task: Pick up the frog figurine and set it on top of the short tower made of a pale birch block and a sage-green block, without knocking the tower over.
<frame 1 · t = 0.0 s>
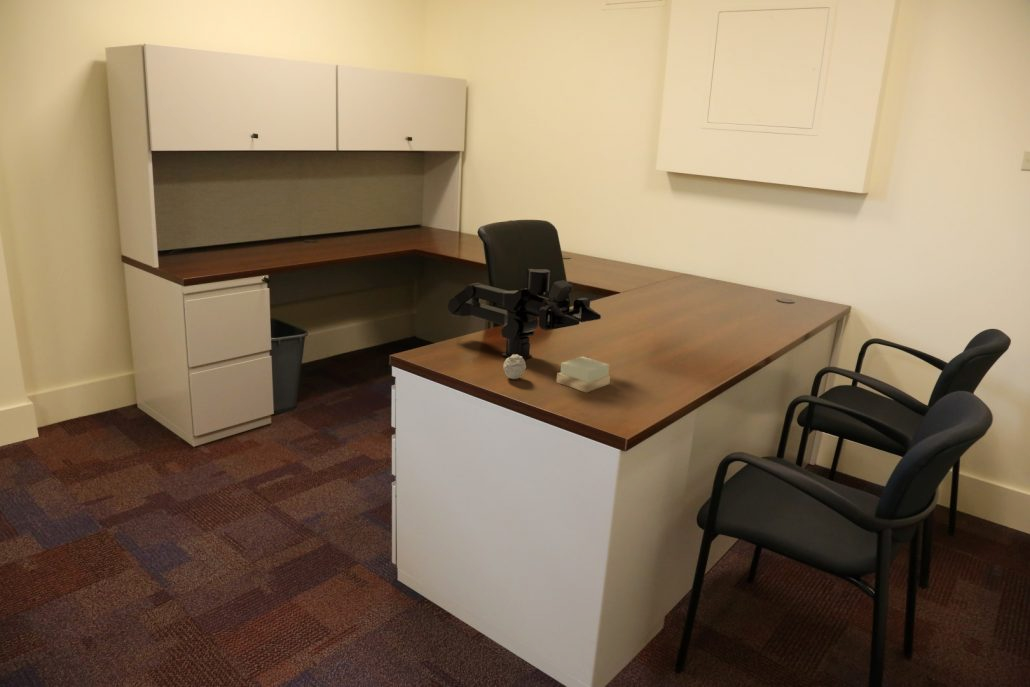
hand: (589, 319, 190), 17 cm above the table, tool horizontal, fingers open, 9 cm apart
lower block: (582, 384, 191), on the table, touching upper block
upper block: (584, 374, 190), point 2 cm above the table, touching lower block
frog figurine: (513, 379, 192), on the table
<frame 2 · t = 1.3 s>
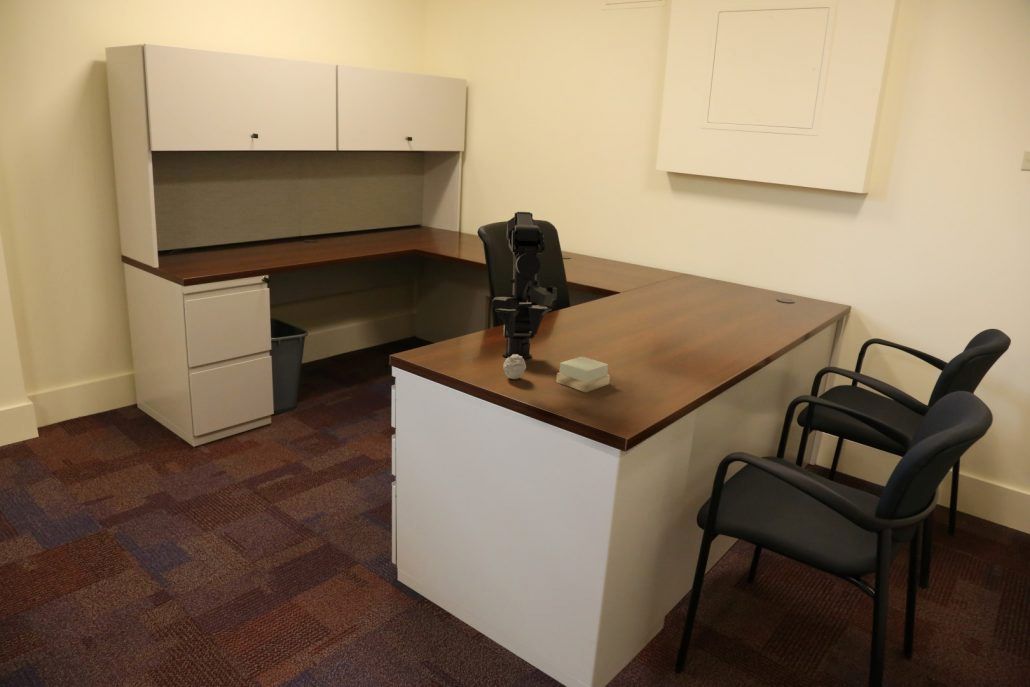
hand: (523, 335, 188), 12 cm above the table, tool pointing down, fingers open, 9 cm apart
nothing on the table moved.
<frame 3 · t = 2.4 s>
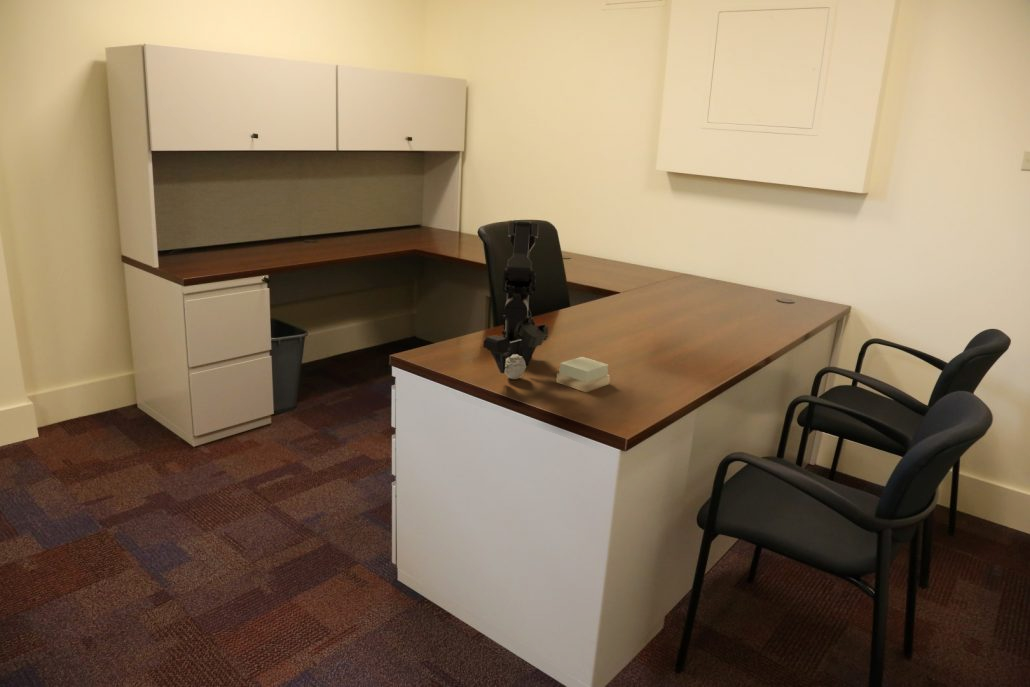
hand: (514, 369, 191), 3 cm above the table, tool pointing down, fingers open, 9 cm apart
nothing on the table moved.
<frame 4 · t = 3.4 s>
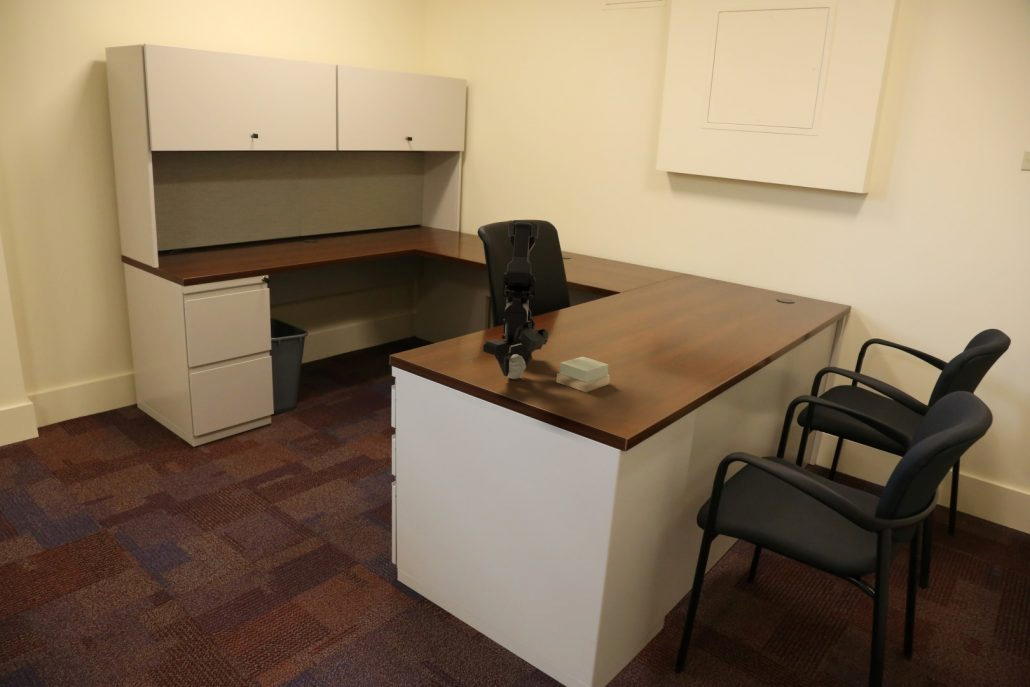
hand: (514, 373, 192), 2 cm above the table, tool pointing down, fingers closed on frog figurine, 6 cm apart
frog figurine: (513, 379, 192), on the table, touching gripper
everything else where it was.
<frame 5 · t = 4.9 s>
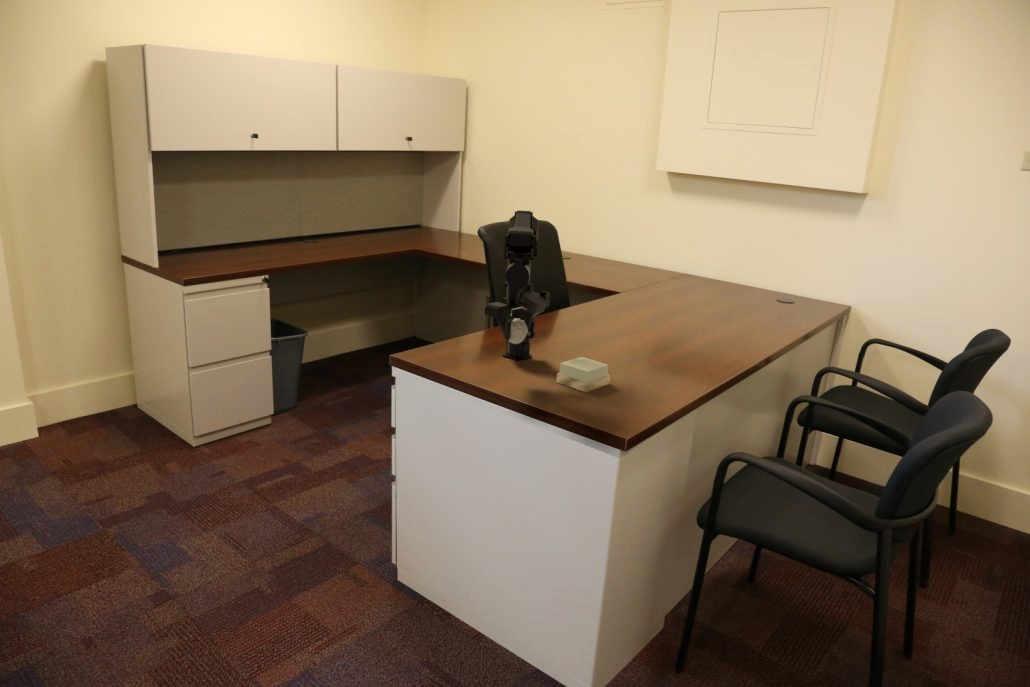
hand: (515, 338, 189), 11 cm above the table, tool pointing down, fingers closed on frog figurine, 6 cm apart
frog figurine: (515, 344, 189), point 10 cm above the table, touching gripper
everything else where it was.
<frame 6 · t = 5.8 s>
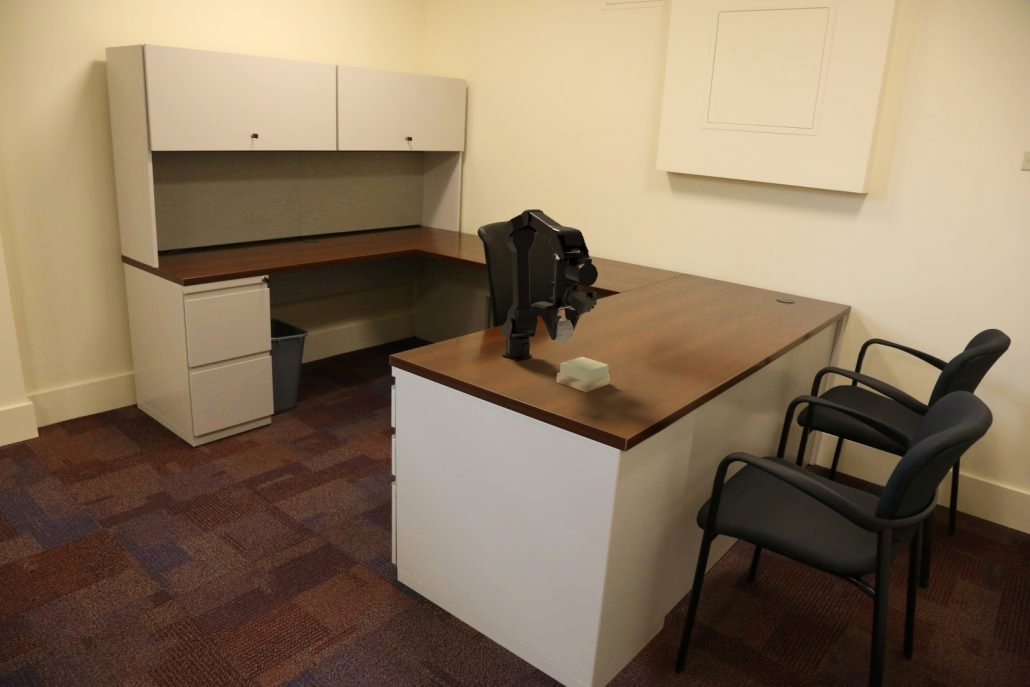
hand: (561, 337, 188), 12 cm above the table, tool pointing down, fingers closed on frog figurine, 6 cm apart
frog figurine: (561, 344, 188), point 10 cm above the table, touching gripper
everything else where it was.
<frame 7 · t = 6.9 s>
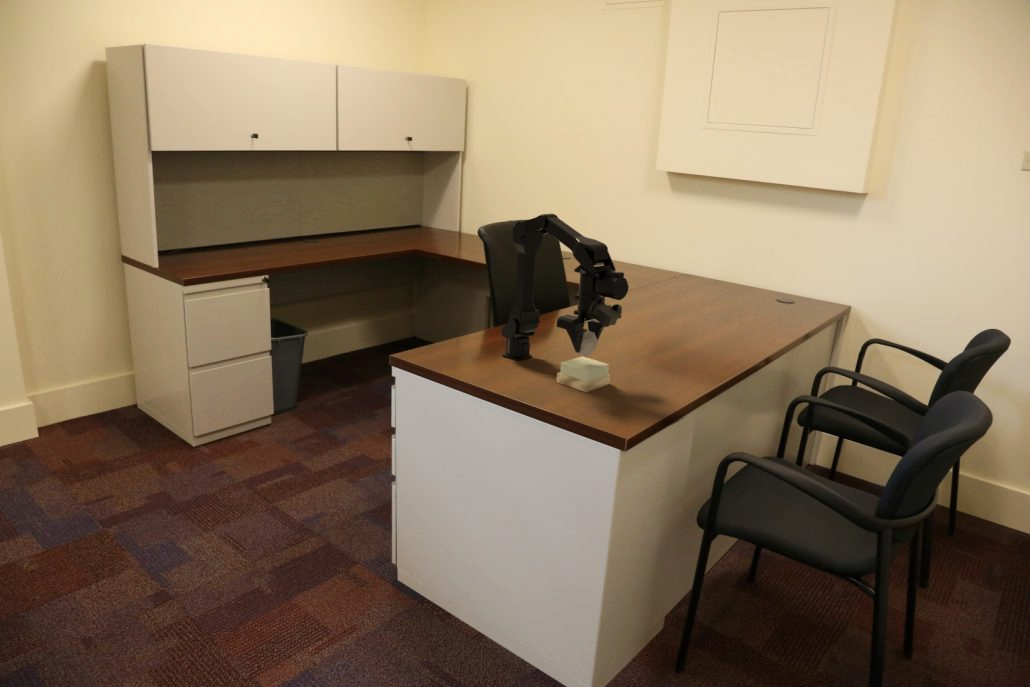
hand: (585, 350, 189), 9 cm above the table, tool pointing down, fingers closed on frog figurine, 6 cm apart
frog figurine: (584, 356, 189), point 7 cm above the table, touching gripper
everything else where it was.
when the fingers open (9 cm above the table, at t = 8.1 s): frog figurine drops 2 cm, resting on upper block.
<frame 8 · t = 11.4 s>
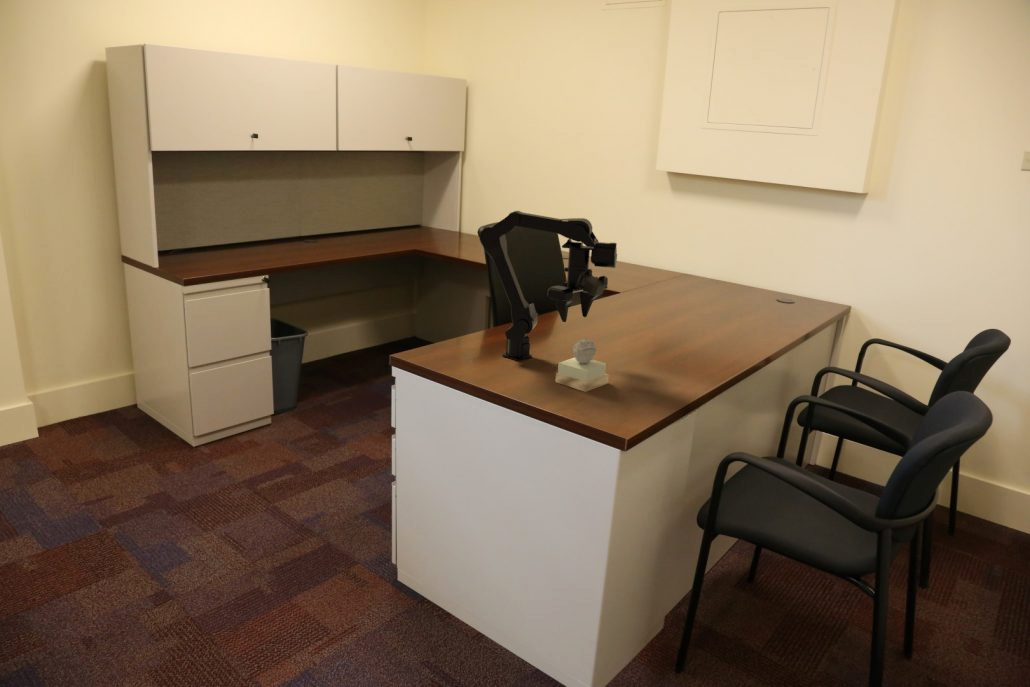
hand: (574, 319, 204), 13 cm above the table, tool pointing down, fingers open, 9 cm apart
upper block: (581, 373, 191), point 2 cm above the table, touching frog figurine, lower block
frog figurine: (583, 364, 190), point 5 cm above the table, touching upper block
everything else where it was.
at the end: frog figurine inside the target area on the lower block (0.3 cm from its centre), point 5.8 cm above the lower block's base; upper block 0.2 cm off-centre on the lower block, point 3.0 cm above the lower block's base; the gripper is holding nothing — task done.
